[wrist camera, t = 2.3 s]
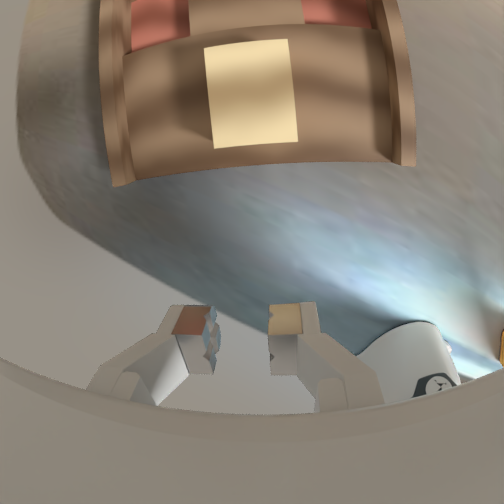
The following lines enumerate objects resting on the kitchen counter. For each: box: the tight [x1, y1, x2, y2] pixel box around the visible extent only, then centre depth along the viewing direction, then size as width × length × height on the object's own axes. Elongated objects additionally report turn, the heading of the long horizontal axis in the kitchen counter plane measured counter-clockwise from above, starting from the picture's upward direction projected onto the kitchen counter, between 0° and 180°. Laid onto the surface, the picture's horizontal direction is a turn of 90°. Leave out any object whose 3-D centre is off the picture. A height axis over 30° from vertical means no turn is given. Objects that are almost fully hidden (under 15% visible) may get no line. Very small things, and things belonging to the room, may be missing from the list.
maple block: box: [204, 39, 298, 149], centre depth 19 cm, size 8×6×4 cm
